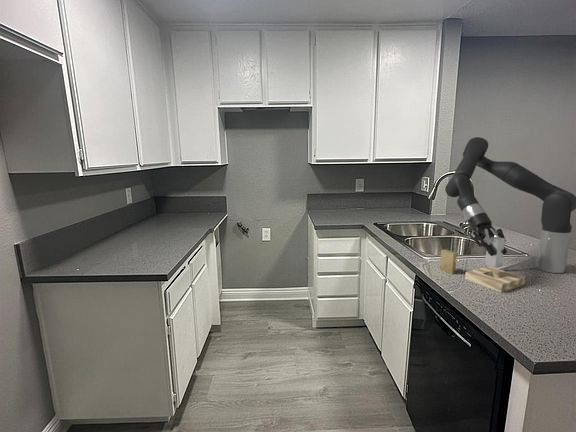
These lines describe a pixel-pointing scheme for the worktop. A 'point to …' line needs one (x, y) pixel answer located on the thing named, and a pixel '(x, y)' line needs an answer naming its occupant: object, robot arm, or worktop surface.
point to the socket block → (495, 278)
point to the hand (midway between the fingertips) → (499, 254)
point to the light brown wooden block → (448, 261)
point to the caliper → (521, 263)
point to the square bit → (499, 249)
